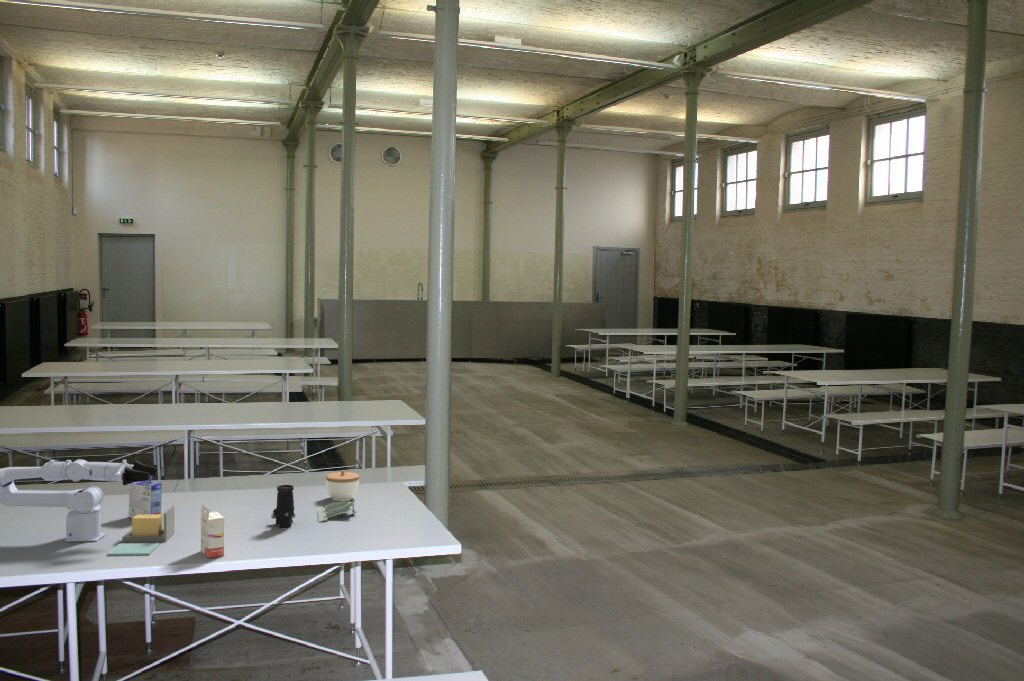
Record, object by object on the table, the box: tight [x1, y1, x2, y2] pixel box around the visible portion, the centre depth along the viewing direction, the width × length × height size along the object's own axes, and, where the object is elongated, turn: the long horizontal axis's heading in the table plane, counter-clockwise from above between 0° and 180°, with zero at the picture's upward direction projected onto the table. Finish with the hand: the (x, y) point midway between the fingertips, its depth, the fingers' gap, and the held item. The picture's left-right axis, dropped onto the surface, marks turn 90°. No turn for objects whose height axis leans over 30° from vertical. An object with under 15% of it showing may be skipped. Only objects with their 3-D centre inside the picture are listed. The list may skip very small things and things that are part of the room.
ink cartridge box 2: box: [200, 503, 225, 559], centre depth 256 cm, size 9×5×15 cm, turn 35°
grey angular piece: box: [121, 505, 175, 543], centre depth 270 cm, size 13×9×9 cm
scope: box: [270, 484, 296, 529], centre depth 287 cm, size 8×14×10 cm
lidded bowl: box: [325, 469, 360, 502], centre depth 325 cm, size 13×13×11 cm
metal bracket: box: [316, 499, 357, 523], centre depth 302 cm, size 14×6×15 cm
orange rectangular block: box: [131, 513, 164, 536], centre depth 270 cm, size 8×4×7 cm, turn 96°
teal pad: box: [107, 542, 161, 557], centre depth 258 cm, size 12×10×1 cm
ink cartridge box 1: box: [128, 475, 162, 519], centre depth 293 cm, size 10×6×14 cm, turn 71°
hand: (152, 473), depth 269 cm, fingers open, 7 cm apart
